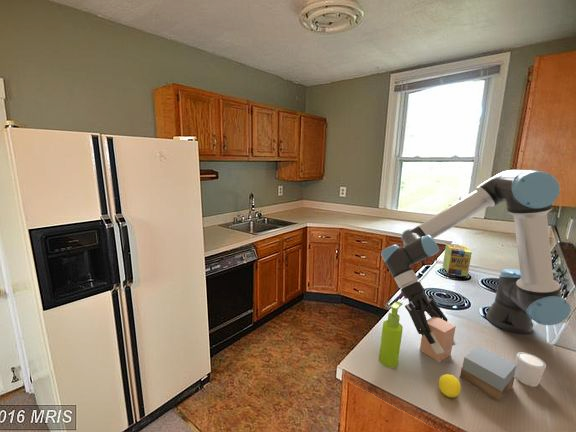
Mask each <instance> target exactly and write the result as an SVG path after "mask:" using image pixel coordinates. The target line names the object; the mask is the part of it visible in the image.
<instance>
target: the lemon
mask: <svg viewBox="0 0 576 432" xmlns="http://www.w3.org/2000/svg"><path fill="white" fill-rule="evenodd" d="M461 387H462V386H461V382H460V380H459V379H458V378H457V377H456V376H454V375H453V374H449V373H446V374H442V375H441V376H440V377H439V380H438V388H439V390H440V392H441V393H442V394H443V395H444V396H446V397H448V398H456V397H458V396H459V395H460V393H461Z"/></svg>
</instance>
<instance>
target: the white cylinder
mask: <svg viewBox="0 0 576 432" xmlns="http://www.w3.org/2000/svg"><path fill="white" fill-rule="evenodd" d="M515 364H517V366H516V371H515V375H514V377H515V378H516V379H517V380H518V381H519V382H520V383H522V384H524V385H526V386H530V387H533V388H535V387H538V386H539V384H540V382H541V379H542V377H543V376H544V372H545V371H546V368H547V364H546V362H545V361H544V360H543V359H541V358H540V357H538V356H536V355H533V354H531V353H528V352H522V351H519V352H517V353H516V355H515Z"/></svg>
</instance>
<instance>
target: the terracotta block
mask: <svg viewBox="0 0 576 432" xmlns="http://www.w3.org/2000/svg"><path fill="white" fill-rule="evenodd" d="M442 319H443V318H442ZM442 319H440V318H438V317H435V316H434V317H432V318H431V317H430V318H429V319H427V323H428V326H429V329H430V332H433V333H434V335H435V337H436V338H437V340H438V342H439V344H440V345H441V347H442V349H443V351H444V353H440V354H436V353H435V351H434V349H433V348H432V346H431V344H430V343H429V342H428V340H427V338H426V336H425V335H421V340H420V346H419V351H421V352H423V353H424V354H426V355H427V356H429V357H431V358H432V359H434V360H435V361H437V362H438V363H440V362H442V361H443V360H445V359H447V358H448V357H450V356H451V355H452V350H453V346H454V345H453V339H454V340H455V334H456V333H455V332H456V327H457V325H454V324H452V323H451V322H448V321H447V322H446V321H444V320H442ZM452 345H453V346H452Z"/></svg>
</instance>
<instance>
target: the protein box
mask: <svg viewBox="0 0 576 432" xmlns="http://www.w3.org/2000/svg"><path fill="white" fill-rule="evenodd" d="M445 244H446V245H445V249H444V255H443V262H442V267H443V269H444V268H445V269H444V270H446V271H447V272H446V271H445V272H446V274H447V273H448V274H447V275H449V274H455V275H461V276H460V277H462V276H466V277H465V278H468V275H469V270H470V269H469V268H470V265H471V260H472V259H471V258H472V251H471V250H470V249H469V248H468V247H467V246H466V245H463V244H457V243H449V242H446V243H445ZM455 275H454V276H455Z"/></svg>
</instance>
